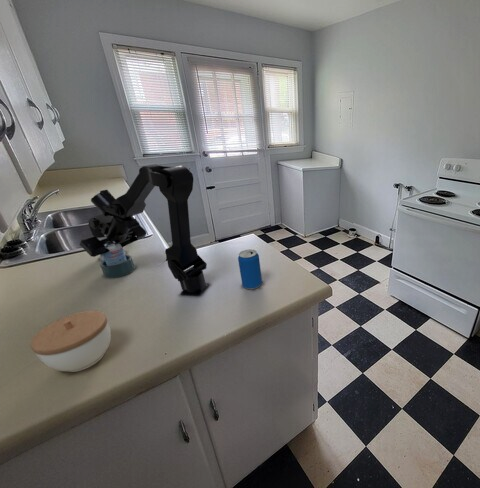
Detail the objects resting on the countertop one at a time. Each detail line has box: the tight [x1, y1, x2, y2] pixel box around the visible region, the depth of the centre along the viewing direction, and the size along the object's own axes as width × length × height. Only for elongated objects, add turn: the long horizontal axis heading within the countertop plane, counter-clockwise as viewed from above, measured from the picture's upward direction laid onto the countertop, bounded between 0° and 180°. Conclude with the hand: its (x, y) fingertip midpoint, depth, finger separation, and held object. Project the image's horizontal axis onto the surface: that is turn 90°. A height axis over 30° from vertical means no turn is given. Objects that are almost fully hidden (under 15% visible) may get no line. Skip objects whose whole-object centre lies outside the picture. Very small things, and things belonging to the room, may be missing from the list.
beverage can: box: [237, 248, 263, 290], centre depth 88 cm, size 6×6×12 cm
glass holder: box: [87, 223, 127, 262], centre depth 108 cm, size 9×14×15 cm, turn 42°
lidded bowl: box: [29, 310, 112, 373], centre depth 61 cm, size 13×13×11 cm
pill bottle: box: [103, 244, 127, 266], centre depth 97 cm, size 6×6×11 cm
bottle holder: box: [99, 254, 136, 279], centre depth 100 cm, size 9×9×4 cm
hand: (110, 251), depth 98 cm, fingers closed on pill bottle, 6 cm apart
